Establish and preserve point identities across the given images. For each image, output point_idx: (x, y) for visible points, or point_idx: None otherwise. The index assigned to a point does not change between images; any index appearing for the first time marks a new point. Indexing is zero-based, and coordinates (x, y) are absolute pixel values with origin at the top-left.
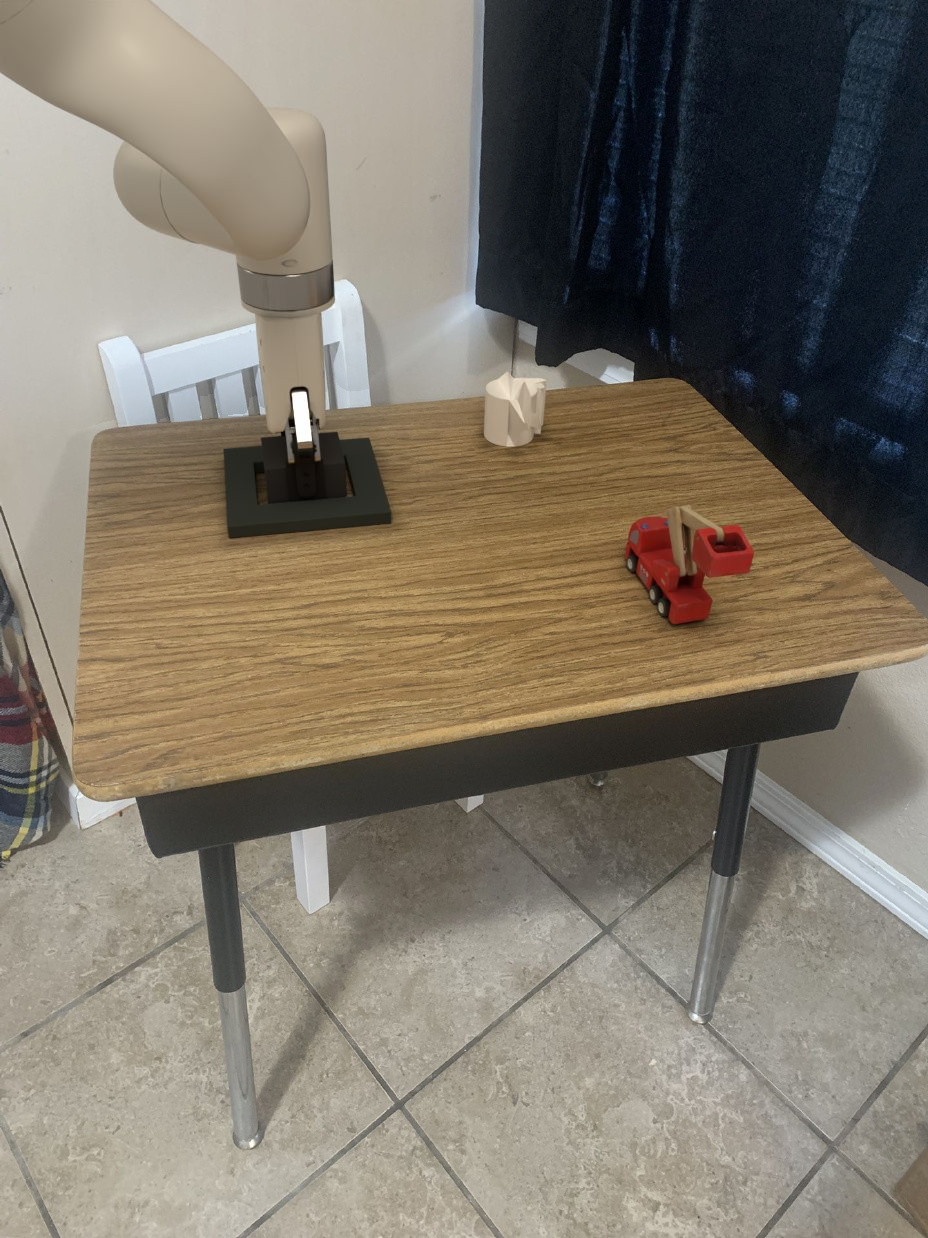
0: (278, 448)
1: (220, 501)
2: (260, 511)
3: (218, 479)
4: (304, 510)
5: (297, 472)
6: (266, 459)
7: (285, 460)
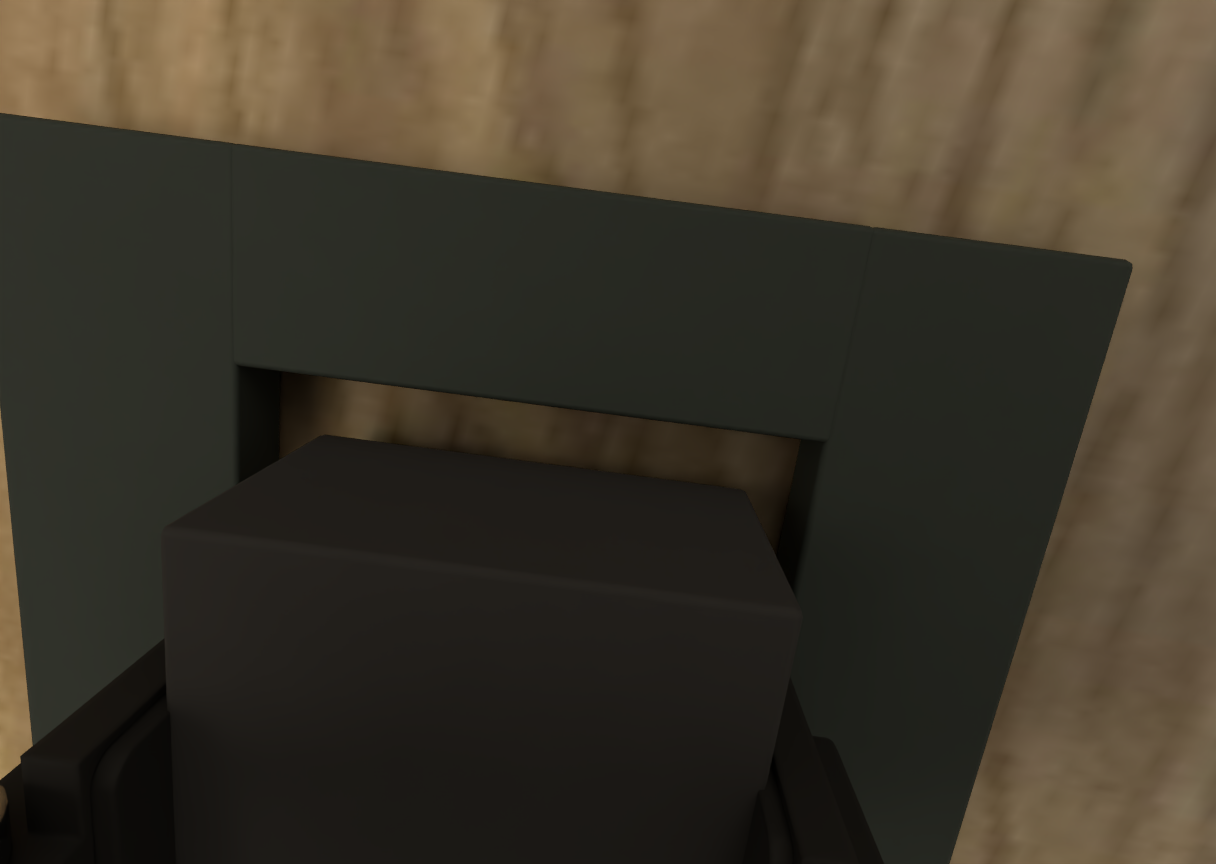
0: (524, 713)
1: (517, 141)
2: (141, 367)
3: (815, 172)
4: (118, 621)
5: (18, 773)
6: (340, 578)
7: (45, 762)
